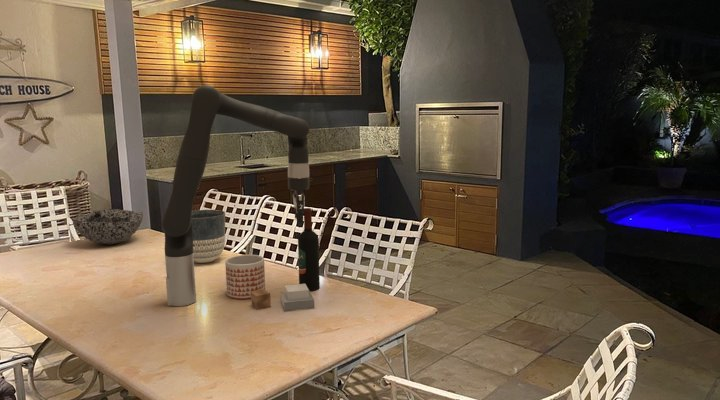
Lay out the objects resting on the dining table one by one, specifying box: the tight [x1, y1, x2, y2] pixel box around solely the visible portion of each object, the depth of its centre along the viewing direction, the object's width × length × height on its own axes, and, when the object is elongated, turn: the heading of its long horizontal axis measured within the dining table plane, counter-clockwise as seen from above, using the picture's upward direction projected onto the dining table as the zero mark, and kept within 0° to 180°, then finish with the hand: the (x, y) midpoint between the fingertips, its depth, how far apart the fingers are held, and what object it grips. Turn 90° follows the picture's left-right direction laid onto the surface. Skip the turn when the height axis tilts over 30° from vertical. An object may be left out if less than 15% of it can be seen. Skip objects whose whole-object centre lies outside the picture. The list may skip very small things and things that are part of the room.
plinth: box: [280, 283, 315, 312], centre depth 185 cm, size 10×10×6 cm
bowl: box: [72, 208, 144, 246], centre depth 273 cm, size 31×31×15 cm
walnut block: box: [251, 288, 272, 311], centre depth 184 cm, size 5×5×5 cm
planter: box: [191, 209, 226, 264], centre depth 238 cm, size 20×20×21 cm
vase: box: [224, 254, 266, 300], centre depth 197 cm, size 14×14×13 cm
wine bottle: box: [297, 207, 320, 292], centre depth 200 cm, size 8×8×30 cm
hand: (299, 221), depth 194 cm, fingers open, 8 cm apart
